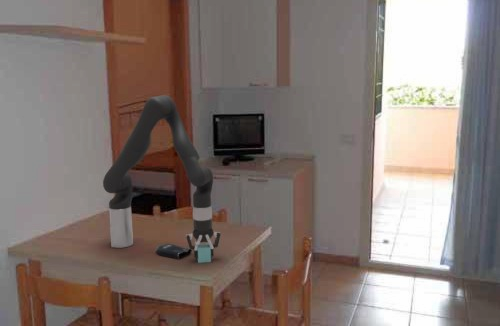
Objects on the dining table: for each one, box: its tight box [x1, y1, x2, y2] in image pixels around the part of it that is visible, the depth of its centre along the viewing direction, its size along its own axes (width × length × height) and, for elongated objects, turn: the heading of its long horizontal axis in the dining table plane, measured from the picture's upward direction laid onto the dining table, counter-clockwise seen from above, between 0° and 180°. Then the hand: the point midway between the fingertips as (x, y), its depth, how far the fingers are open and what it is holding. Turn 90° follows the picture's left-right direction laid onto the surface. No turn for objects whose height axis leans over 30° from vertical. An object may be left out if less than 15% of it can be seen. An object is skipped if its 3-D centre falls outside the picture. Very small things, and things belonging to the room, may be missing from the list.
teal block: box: [196, 242, 212, 264], centre depth 199 cm, size 5×5×6 cm
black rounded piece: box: [155, 243, 193, 260], centre depth 208 cm, size 9×6×15 cm
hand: (204, 257), depth 200 cm, fingers closed on teal block, 5 cm apart
